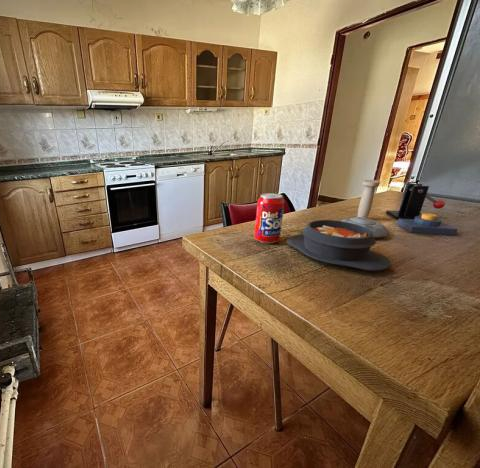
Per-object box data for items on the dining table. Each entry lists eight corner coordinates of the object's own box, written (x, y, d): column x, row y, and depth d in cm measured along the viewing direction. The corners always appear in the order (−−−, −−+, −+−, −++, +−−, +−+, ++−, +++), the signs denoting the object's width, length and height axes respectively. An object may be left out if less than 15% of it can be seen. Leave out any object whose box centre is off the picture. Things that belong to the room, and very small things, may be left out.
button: (431, 218, 89) (432, 213, 88) (437, 221, 86) (439, 216, 85) (418, 217, 90) (419, 212, 89) (424, 220, 87) (426, 215, 86)
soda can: (261, 234, 89) (266, 191, 84) (283, 240, 83) (290, 195, 78) (249, 240, 84) (253, 195, 79) (271, 247, 79) (277, 199, 73)
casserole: (399, 262, 68) (409, 232, 65) (372, 286, 58) (382, 252, 55) (305, 235, 87) (309, 211, 84) (272, 250, 77) (276, 223, 74)
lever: (435, 208, 100) (443, 202, 98) (441, 211, 97) (449, 204, 95) (407, 190, 100) (414, 183, 99) (411, 191, 97) (419, 184, 96)
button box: (437, 226, 91) (441, 215, 90) (455, 235, 83) (460, 223, 82) (396, 224, 95) (400, 213, 93) (410, 232, 87) (414, 221, 85)
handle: (370, 218, 101) (381, 180, 96) (367, 222, 97) (378, 183, 91) (356, 216, 104) (365, 179, 99) (352, 220, 100) (362, 181, 95)
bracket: (417, 214, 104) (428, 183, 100) (431, 221, 96) (444, 187, 92) (385, 213, 107) (394, 182, 103) (396, 219, 99) (406, 186, 95)
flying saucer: (388, 244, 78) (393, 227, 76) (331, 235, 87) (334, 219, 85) (387, 230, 89) (391, 215, 87) (336, 223, 98) (339, 209, 96)
